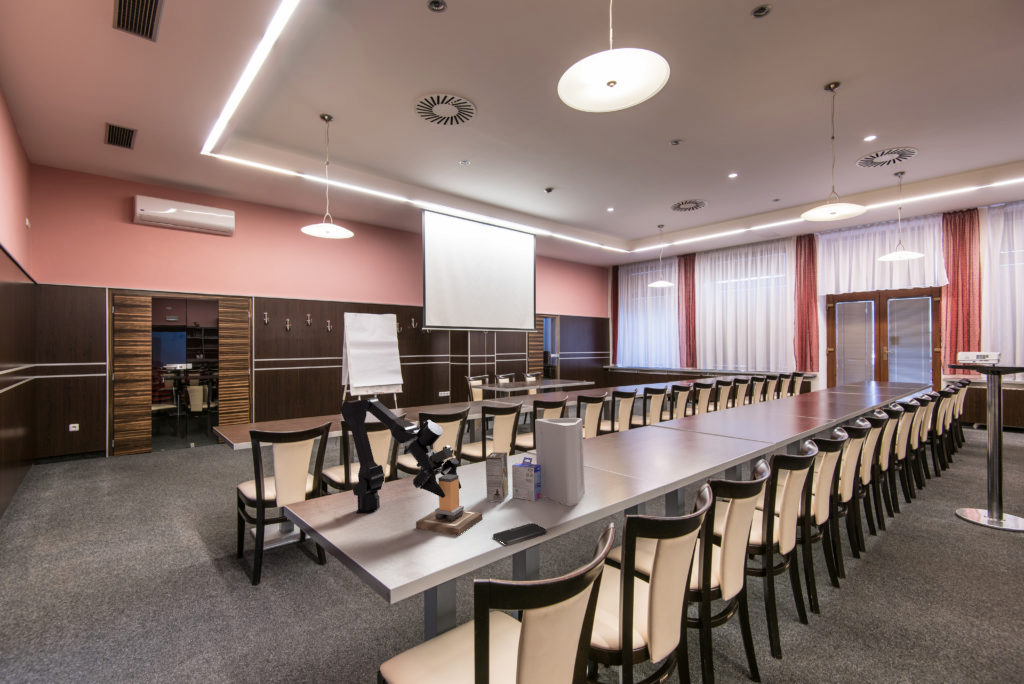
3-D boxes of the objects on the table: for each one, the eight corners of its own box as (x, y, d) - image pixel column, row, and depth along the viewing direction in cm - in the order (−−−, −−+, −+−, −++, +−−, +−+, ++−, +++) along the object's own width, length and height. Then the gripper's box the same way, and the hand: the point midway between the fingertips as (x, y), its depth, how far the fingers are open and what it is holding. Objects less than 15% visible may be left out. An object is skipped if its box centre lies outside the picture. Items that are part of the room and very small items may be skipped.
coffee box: (492, 493, 174) (491, 451, 174) (508, 494, 172) (507, 452, 173) (486, 501, 165) (485, 457, 165) (503, 502, 163) (502, 457, 164)
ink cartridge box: (542, 497, 167) (541, 458, 168) (535, 501, 163) (534, 461, 163) (519, 493, 173) (518, 455, 173) (512, 497, 168) (510, 458, 168)
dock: (416, 528, 142) (415, 521, 142) (441, 513, 154) (441, 506, 154) (459, 535, 135) (459, 528, 135) (482, 519, 147) (482, 512, 147)
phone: (548, 530, 135) (505, 543, 127) (548, 534, 135) (505, 547, 127) (533, 522, 141) (491, 534, 133) (533, 526, 141) (491, 537, 133)
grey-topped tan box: (434, 519, 143) (433, 478, 143) (446, 512, 149) (445, 473, 149) (453, 522, 140) (452, 480, 140) (464, 515, 146) (463, 474, 146)
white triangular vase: (599, 498, 165) (597, 421, 165) (568, 506, 157) (565, 425, 157) (566, 485, 181) (564, 415, 181) (536, 492, 173) (534, 419, 173)
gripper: (419, 444, 138) (450, 484, 133) (453, 433, 155) (482, 468, 150) (399, 468, 142) (429, 508, 136) (435, 455, 158) (462, 490, 153)
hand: (452, 492), depth 144 cm, fingers open, 9 cm apart
